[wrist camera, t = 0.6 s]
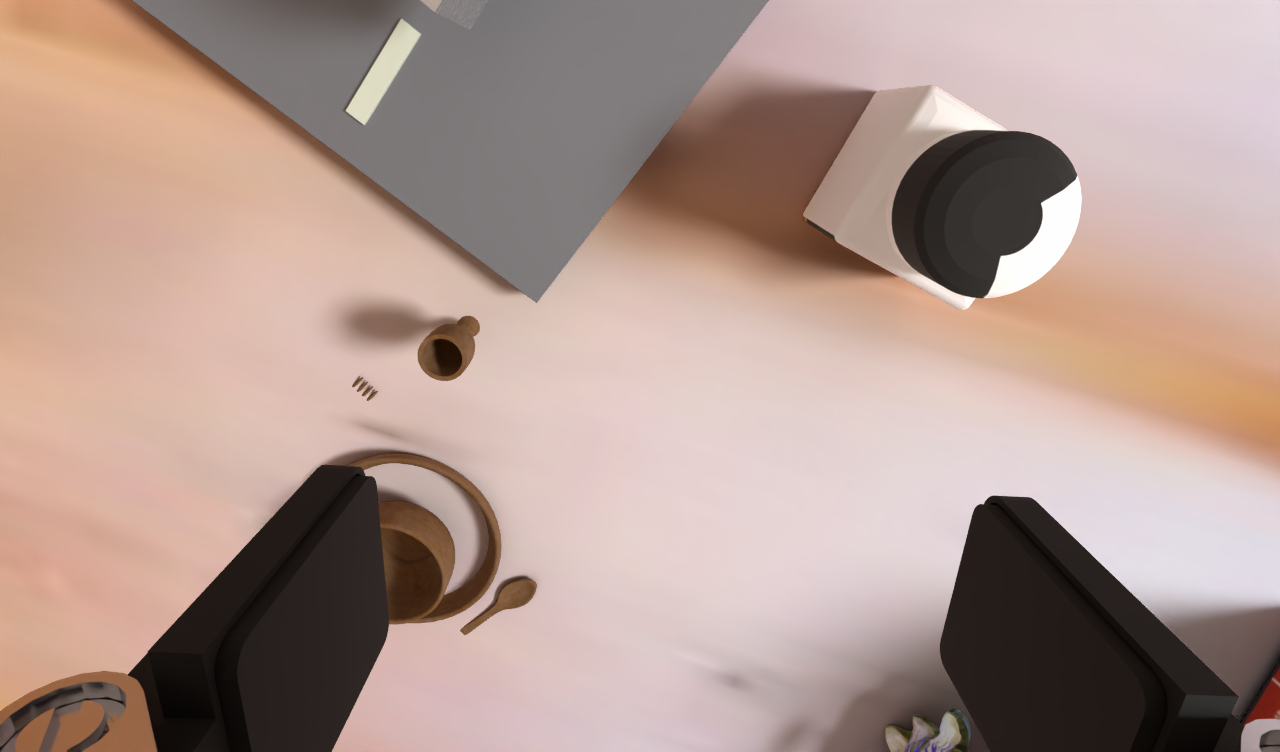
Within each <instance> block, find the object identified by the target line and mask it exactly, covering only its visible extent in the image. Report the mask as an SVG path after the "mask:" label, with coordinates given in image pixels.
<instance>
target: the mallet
mask: <svg viewBox="0 0 1280 752" xmlns="http://www.w3.org/2000/svg"><path fill="white" fill-rule="evenodd" d="M420 1H422V2H423V3H424V4H425V5H427V6H428V7H429V8H430V9H431V10H433V11H434V12H435V13H437V14H439V15H441V16H443V17H445V18H447V19H449V20H451V21H453V22H455V23H457V24H459V25H461V26H463V27H465V28H467V29H469V30H471V28H472V27H473V25H474V23H475V22H476V20H477V19H478V17H479V16H480V14H481V12H482V11H483V9H484V8H485V6H486V5H487V3H488V1H489V0H420Z"/></svg>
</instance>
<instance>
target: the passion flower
mask: <svg viewBox="0 0 1280 752" xmlns="http://www.w3.org/2000/svg"><path fill="white" fill-rule="evenodd" d="M912 723H913V730H912V731H907V730H904V729H903V728H901V727H899V726H895V725H888V726H887V727H886V734H885V736H886V741H887V744H888V746H889V749H890V751H891V752H969V750H968V743H969V740H970V738H971V732H970V724H969V721H968V718H967V717H966V716H965V715H964V713H962V712H961V711H960V710H959V709H957V708H952V709H950V710H949V711H947V712H946V713H945V714H944V716H943V719H942V722H941V725H940V729H939V728H938V727H937V726H936V725H935V724H934V723H932V722H931V721H930V720H928V719H927V718H925V717H923V716H921V715H919V714H916V713H913V720H912Z"/></svg>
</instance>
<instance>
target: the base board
mask: <svg viewBox="0 0 1280 752" xmlns="http://www.w3.org/2000/svg"><path fill="white" fill-rule="evenodd" d="M133 1H134V2H135V3H137V4H138V5H139V6H141V7H142V8H143V9H145V10H146V11H147V12H149V13H150V14H151V15H153V16H154V17H155V18H157V19H158V20H159V21H161V22H162V23H163V24H165V25H166V26H167V27H169V28H170V29H171V30H173V31H174V32H175V33H177V34H178V35H179V36H181V37H182V38H183V39H185V40H186V41H187V42H189V43H190V44H191V45H193V46H194V47H195V48H197V49H198V50H199V51H201V52H202V53H203V54H205V55H206V56H207V57H209V58H210V59H211V60H213V61H214V62H215V63H217V64H218V65H219V66H221V67H222V68H223V69H225V70H226V71H227V72H229V73H230V74H231V75H233V76H234V77H235V78H237V79H238V80H239V81H241V82H242V83H243V84H245V85H246V86H247V87H249V88H250V89H251V90H253V91H254V92H255V93H257V94H258V95H259V96H261V97H262V98H263V99H265V100H266V101H267V102H269V103H270V104H271V105H273V106H274V107H275V108H277V109H278V110H279V111H281V112H282V113H283V114H285V115H286V116H287V117H289V118H290V119H291V120H293V121H294V122H295V123H297V124H298V125H300V126H301V127H302V128H304V129H305V130H306V131H308V132H309V133H310V134H312V135H313V136H314V137H316V138H317V139H318V140H320V141H321V142H322V143H324V144H325V145H326V146H328V147H329V148H330V149H332V150H333V151H334V152H336V153H337V154H338V155H340V156H341V157H342V158H344V159H345V160H346V161H348V162H349V163H350V164H352V165H353V166H354V167H356V168H357V169H358V170H360V171H361V172H362V173H364V174H365V175H366V176H368V177H369V178H370V179H372V180H373V181H374V182H376V183H377V184H378V185H380V186H381V187H382V188H384V189H385V190H386V191H388V192H389V193H390V194H392V195H393V196H394V197H396V198H397V199H398V200H400V201H401V202H402V203H404V204H405V205H406V206H408V207H409V208H410V209H412V210H413V211H414V212H416V213H417V214H418V215H420V216H421V217H422V218H424V219H425V220H426V221H428V222H429V223H430V224H432V225H433V226H434V227H436V228H437V229H438V230H440V231H441V232H442V233H444V234H445V235H446V236H448V237H449V238H450V239H452V240H453V241H454V242H456V243H457V244H458V245H460V246H461V247H462V248H464V249H465V250H467V251H468V252H469V253H471V254H472V255H473V256H475V257H476V258H477V259H479V260H480V261H481V262H483V263H484V264H485V265H487V266H488V267H489V268H491V269H492V270H493V271H495V272H496V273H497V274H499V275H500V276H501V277H503V278H504V279H505V280H507V281H508V282H509V283H511V284H512V285H513V286H515V287H516V288H517V289H519V290H520V291H521V292H523V293H524V294H525V295H527V296H528V297H529V298H531V299H532V300H533V301H535V302H536V303H537V302H538V300H539V299H540V298H541V297H542V295H543V294H544V293H545V291H546V290H547V289H548V287H549V286H550V285H551V284H552V282H553V281H554V280H555V278H556V277H557V276H558V274H559V273H560V272H561V270H562V269H563V268H564V267H565V265H566V264H567V263H568V261H569V260H570V259H571V257H572V256H573V255H574V254H575V252H576V251H577V250H578V248H579V247H580V246H581V244H582V243H583V242H584V241H585V239H586V238H587V237H588V235H589V234H590V233H591V231H592V230H593V229H594V227H595V226H596V225H597V224H598V222H599V221H600V220H601V218H602V217H603V216H604V214H605V213H606V212H607V211H608V209H609V208H610V207H611V205H612V204H613V203H614V201H615V200H616V199H617V198H618V196H619V195H620V194H621V192H622V191H623V190H624V188H625V187H626V186H627V184H628V183H629V182H630V181H631V179H632V178H633V177H634V175H635V174H636V173H637V171H638V170H639V169H640V168H641V166H642V165H643V164H644V162H645V161H646V160H647V158H648V157H649V156H650V155H651V153H652V152H653V151H654V149H655V148H656V147H657V145H658V144H659V143H660V141H661V140H662V139H663V138H664V136H665V135H666V134H667V132H668V131H669V130H670V128H671V127H672V126H673V125H674V123H675V122H676V121H677V119H678V118H679V117H680V115H681V114H682V113H683V112H684V110H685V109H686V108H687V106H688V105H689V104H690V102H691V101H692V100H693V98H694V97H695V96H696V95H697V93H698V92H699V91H700V89H701V88H702V87H703V85H704V84H705V83H706V82H707V80H708V79H709V78H710V76H711V75H712V74H713V72H714V71H715V70H716V69H717V67H718V66H719V65H720V63H721V62H722V61H723V59H724V58H725V57H726V55H727V54H728V53H729V52H730V50H731V49H732V48H733V46H734V45H735V44H736V42H737V41H738V40H739V39H740V37H741V36H742V35H743V33H744V32H745V31H746V29H747V28H748V27H749V26H750V24H751V23H752V22H753V20H754V19H755V18H756V16H757V15H758V14H759V12H760V11H761V10H762V9H763V7H764V6H765V5H766V3H767V2H768V1H769V0H489V1H488V3H487V5H486V6H485V8H484V9H483V11H482V12H481V14H480V16H479V17H478V19H477V20H476V22H475V23H474V25H473V27H472V28H471V30H469V29H467V28H465V27H463V26H461V25H459V24H457V23H455V22H453V21H451V20H449V19H447V18H445V17H443V16H441V15H439V14H437V13H435V12H434V11H433V10H431V9H430V8H429V7H428V6H427V5H425V4H424V3H423V2H422V1H420V0H133Z"/></svg>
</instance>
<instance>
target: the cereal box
mask: <svg viewBox="0 0 1280 752" xmlns="http://www.w3.org/2000/svg"><path fill="white" fill-rule="evenodd" d="M1256 719H1278V720H1280V661H1279V663H1278V664H1277V666H1276V667H1275V669H1274V671H1273V672H1272V674H1271V675H1270V677H1269V678H1268V680H1267V682H1266V683H1265V685H1264V686H1263V688H1262V689H1261V691H1260V693H1259V695H1258V696H1257V698H1256V699H1255V701H1254V703H1253V704H1252V706H1251V707H1250V709H1249V710H1248V712H1247V714H1246V716H1245V717H1244V719H1243V721H1242V722H1241V724H1242V725H1243V726H1244V727H1245V725H1246V724H1248V723H1250V722H1252V721H1254V720H1256Z"/></svg>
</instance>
